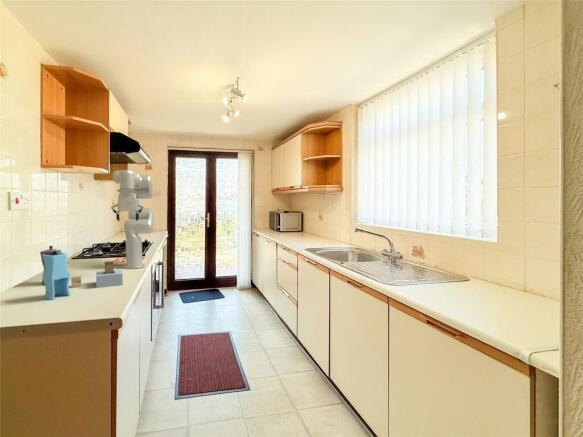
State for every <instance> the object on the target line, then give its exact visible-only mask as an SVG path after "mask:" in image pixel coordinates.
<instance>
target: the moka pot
mask: <svg viewBox="0 0 583 437" xmlns="http://www.w3.org/2000/svg"><path fill="white" fill-rule="evenodd" d="M48 247H49V249H45V250H42V251H39V254H40V258H41V262H42V263H41V264H42V266H43V272H42V275H43V274H44V271H45V262H44V259H43V257H42V255H43V254H44V255H49V256H54V255H58V252H61V253H62V250H61V249H57V248H53V245H49V246H48ZM41 280H42V281H41V284H42V285H45V284H44V281H43V279H41Z"/></svg>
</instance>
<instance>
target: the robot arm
mask: <svg viewBox="0 0 583 437" xmlns="http://www.w3.org/2000/svg"><path fill="white" fill-rule="evenodd" d="M112 180H113V181H114V183H116V184H117V185H119V189H117V190H116V192H117V193H118V197H117V203H116V204H114V205H112V206H110V208H111V211H112V212H113V213H114V214H116V215H115V216H116V221H117V222H120V221H121V220H120V212H128V214H127V215H128V216H127V217H128V219H127V220H125V221H124V223H123V230H124V234H125V259H126V260H125V262H126V264H124V265H123V269H127V270H129V269H130V270H131V269H133V270H135V269H141V268H145V266H146V265H145V263H143V240H142V238H141V237H140V235H139V234H151V233H152V232H153V230H154V223H155V222H154V221H155V220H154V219H155V214H154V213H155V212H154V210H153V209H152V208H149V207H144V204H143V203H142V202H141V201H140V199H141V200H143V199H144V200H151V199H153V197H154V189H153V181H152V177H151V175H149V174H139V173H138V172H137V171H135V170H127V169H126V170H123V169H122V170H115V171H114V172H113V174H112ZM115 208H117V210H116V209H115Z"/></svg>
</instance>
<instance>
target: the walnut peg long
mask: <svg viewBox="0 0 583 437" xmlns="http://www.w3.org/2000/svg"><path fill="white" fill-rule="evenodd" d="M103 262H104V264H103V265H104V266H103V268H104V271H105V274H112V273H114V271H113V270H114V260H106V261H103Z"/></svg>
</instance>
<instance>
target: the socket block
mask: <svg viewBox="0 0 583 437" xmlns="http://www.w3.org/2000/svg"><path fill="white" fill-rule="evenodd" d="M113 271H114V273H112V274H105V270H99V271H97V270H96V271H95V278H96V279H95V281H96V284H95V285H96V289H99V288H107V287H108V288H109V287H117V286H123V285H124V284H123V272H122V271H123V270H122V269H121V268H120V269H113Z"/></svg>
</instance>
